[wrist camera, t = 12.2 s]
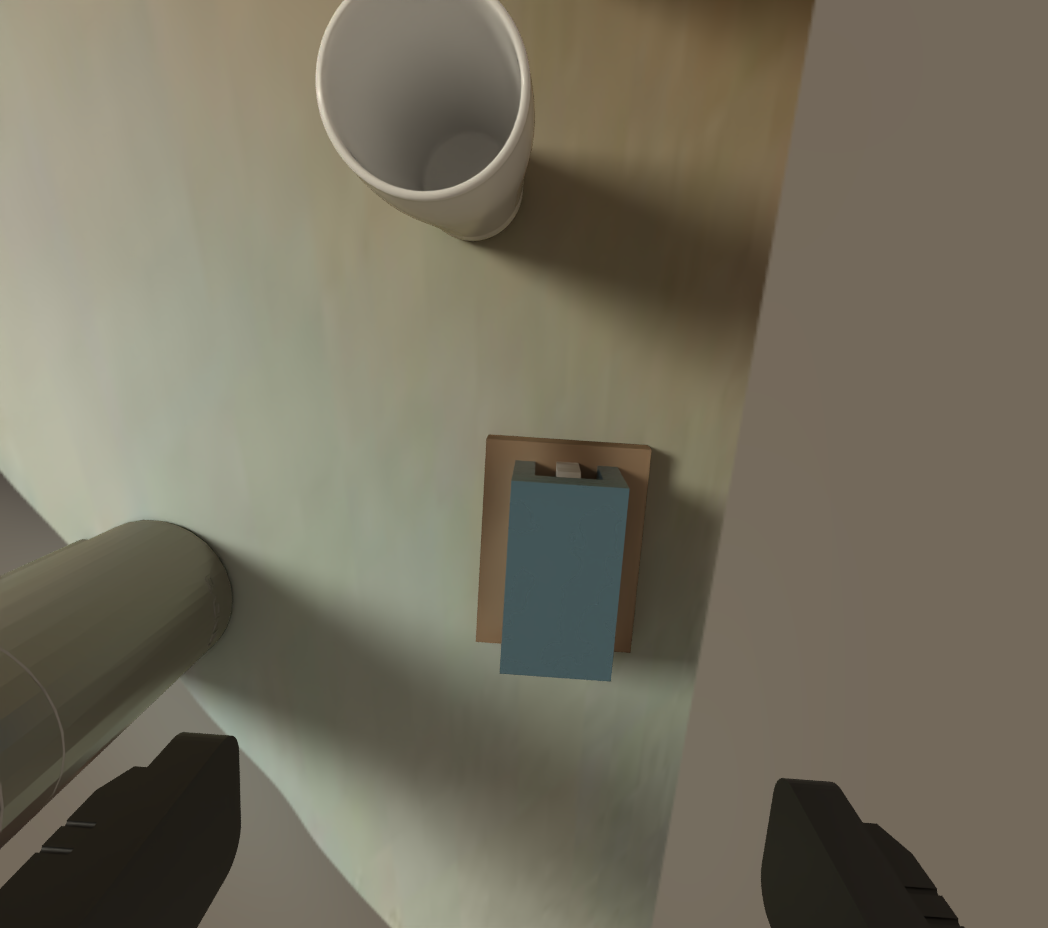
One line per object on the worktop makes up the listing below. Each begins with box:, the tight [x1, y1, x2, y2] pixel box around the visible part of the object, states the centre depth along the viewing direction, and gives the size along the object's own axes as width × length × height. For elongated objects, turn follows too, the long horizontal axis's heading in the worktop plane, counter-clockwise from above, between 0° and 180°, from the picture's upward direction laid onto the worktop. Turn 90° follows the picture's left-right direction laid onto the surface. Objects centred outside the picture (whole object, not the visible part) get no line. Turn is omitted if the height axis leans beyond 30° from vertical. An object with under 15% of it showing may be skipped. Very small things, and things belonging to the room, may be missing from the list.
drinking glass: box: [316, 0, 535, 241], centre depth 27 cm, size 7×7×15 cm
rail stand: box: [476, 435, 651, 653], centre depth 36 cm, size 9×12×4 cm
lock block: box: [500, 460, 629, 681], centre depth 34 cm, size 10×6×5 cm, turn 176°
